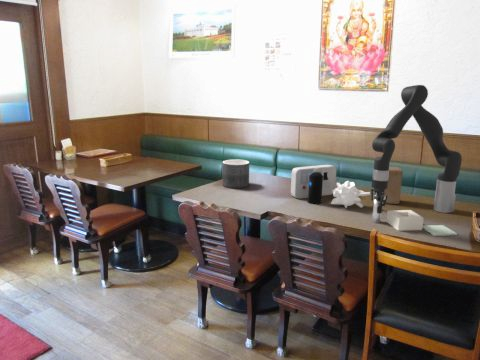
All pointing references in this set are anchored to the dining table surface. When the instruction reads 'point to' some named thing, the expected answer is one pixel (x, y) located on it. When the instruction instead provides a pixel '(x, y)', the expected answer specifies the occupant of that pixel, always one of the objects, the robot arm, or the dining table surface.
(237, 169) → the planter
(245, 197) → the dining table surface
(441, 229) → the mat
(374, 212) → the key peg
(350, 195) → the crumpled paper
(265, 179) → the dining table surface
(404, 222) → the socket
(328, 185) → the rounded white slab
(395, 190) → the wooden block
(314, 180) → the black tall cylinder
